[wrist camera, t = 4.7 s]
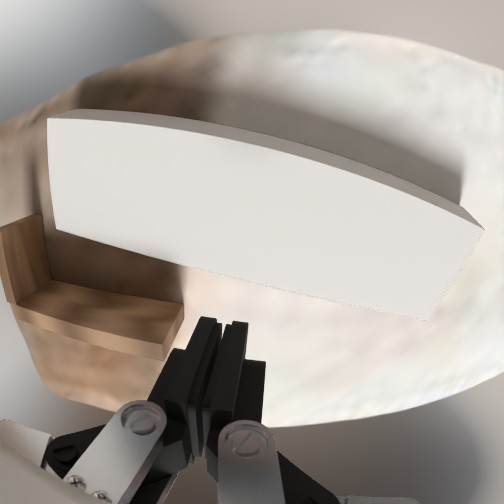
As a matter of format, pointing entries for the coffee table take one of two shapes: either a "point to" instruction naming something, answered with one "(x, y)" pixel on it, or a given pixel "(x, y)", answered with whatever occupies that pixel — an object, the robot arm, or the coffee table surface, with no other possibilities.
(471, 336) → the coffee table surface
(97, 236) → the decorative molding
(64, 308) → the wooden corner bracket
